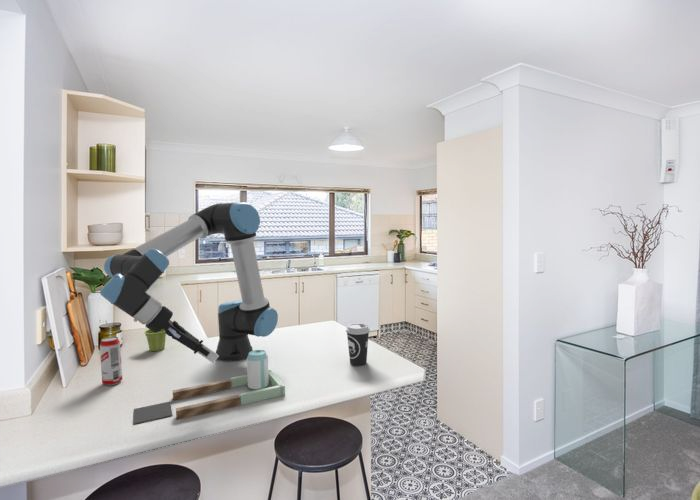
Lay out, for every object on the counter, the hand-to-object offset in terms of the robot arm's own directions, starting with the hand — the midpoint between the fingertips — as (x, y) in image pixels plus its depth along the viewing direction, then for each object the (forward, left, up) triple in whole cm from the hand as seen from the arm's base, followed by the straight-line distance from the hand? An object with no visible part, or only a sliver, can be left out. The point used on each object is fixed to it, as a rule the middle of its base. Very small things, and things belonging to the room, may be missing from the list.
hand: (215, 359), depth 126 cm
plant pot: (-62, +26, -13) cm, 68 cm away
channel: (-2, -3, -13) cm, 13 cm away
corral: (+7, +10, -13) cm, 18 cm away
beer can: (-44, -6, -13) cm, 46 cm away
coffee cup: (+28, +47, -13) cm, 56 cm away
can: (+6, +13, -13) cm, 19 cm away
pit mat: (-11, -15, -13) cm, 23 cm away
